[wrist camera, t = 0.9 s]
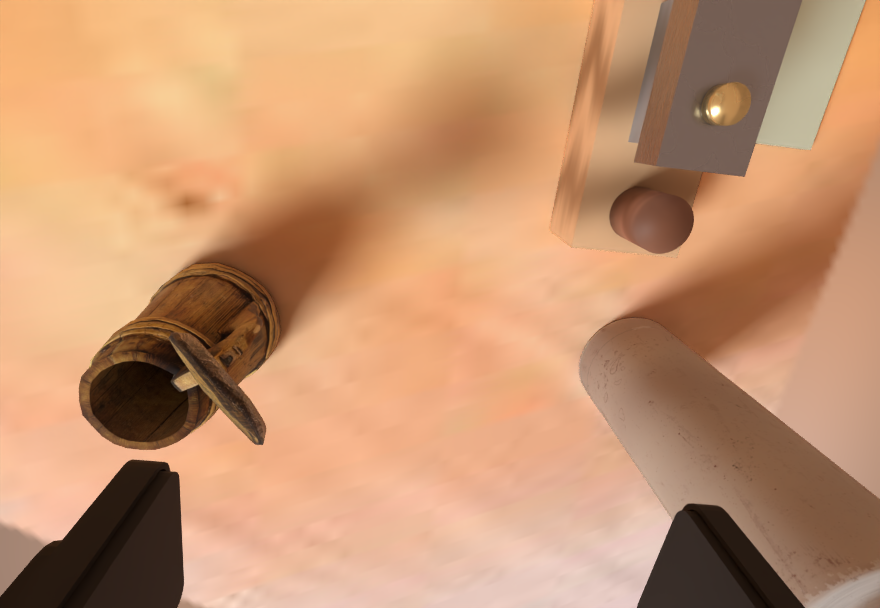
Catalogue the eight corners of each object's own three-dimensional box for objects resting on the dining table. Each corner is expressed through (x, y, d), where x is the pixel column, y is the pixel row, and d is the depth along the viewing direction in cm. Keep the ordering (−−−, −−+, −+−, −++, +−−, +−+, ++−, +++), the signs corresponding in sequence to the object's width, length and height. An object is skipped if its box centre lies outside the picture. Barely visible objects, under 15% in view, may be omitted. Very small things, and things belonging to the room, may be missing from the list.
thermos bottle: (666, 401, 40) (1145, 916, 14) (574, 406, 40) (891, 946, 14) (682, 314, 37) (1316, 756, 11) (583, 318, 37) (1003, 787, 11)
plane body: (616, -112, 27) (748, -261, 17) (729, -91, 28) (925, -222, 17) (549, 230, 34) (612, 278, 24) (641, 240, 35) (743, 291, 24)
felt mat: (767, -53, 29) (774, -57, 28) (870, -35, 30) (879, -38, 29) (710, 137, 33) (716, 137, 32) (804, 149, 33) (810, 150, 33)
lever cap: (683, -40, 22) (726, -65, 19) (774, -25, 22) (831, -47, 19) (633, 162, 25) (664, 167, 22) (715, 171, 26) (755, 178, 23)
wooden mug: (355, 319, 36) (310, 491, 19) (203, 392, 37) (36, 615, 20) (291, 213, 33) (169, 307, 16) (128, 297, 34) (-142, 467, 17)
